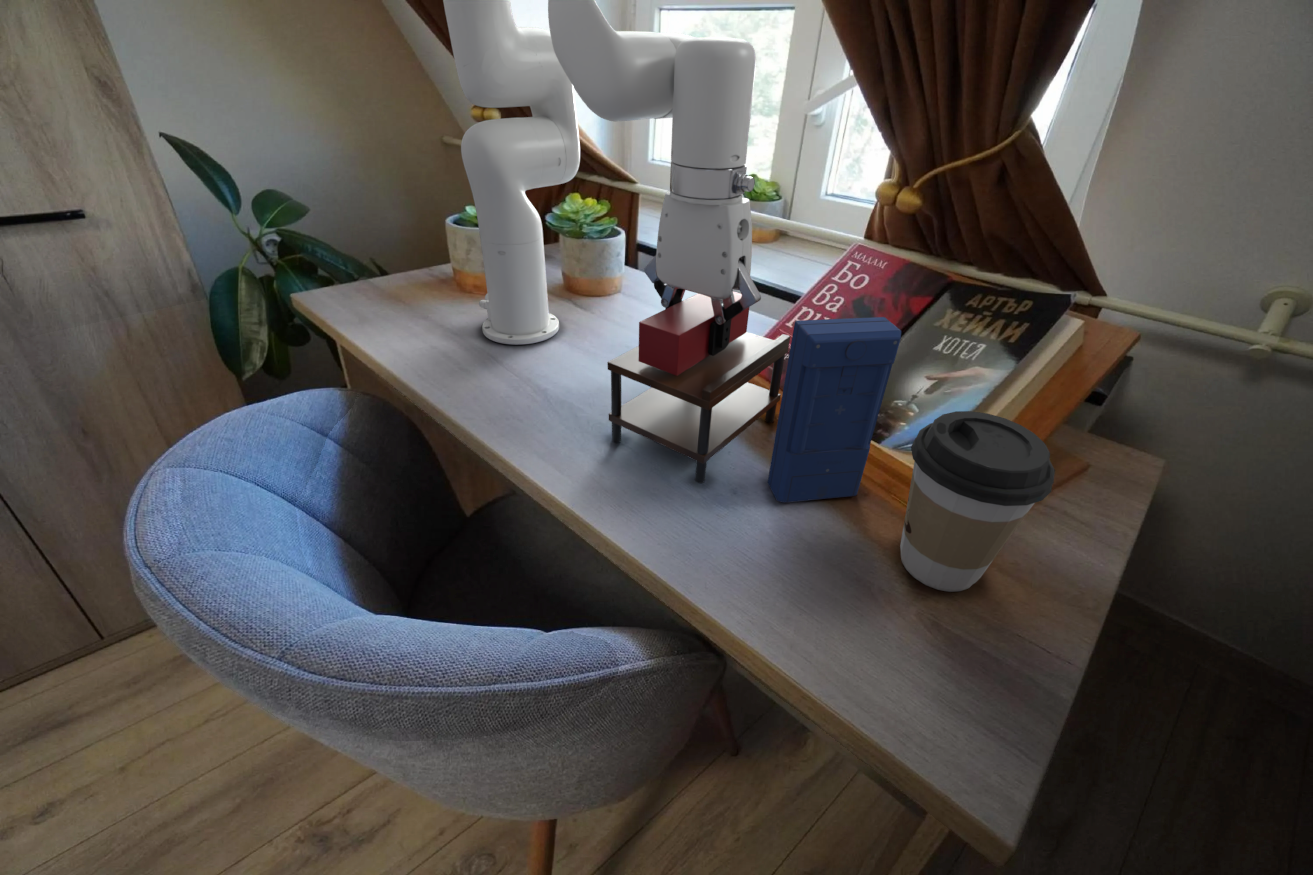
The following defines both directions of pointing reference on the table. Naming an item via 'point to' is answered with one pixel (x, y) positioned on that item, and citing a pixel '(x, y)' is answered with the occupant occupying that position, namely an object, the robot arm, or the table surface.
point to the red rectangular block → (683, 334)
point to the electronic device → (830, 406)
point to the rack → (699, 398)
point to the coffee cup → (969, 495)
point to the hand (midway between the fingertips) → (695, 342)
